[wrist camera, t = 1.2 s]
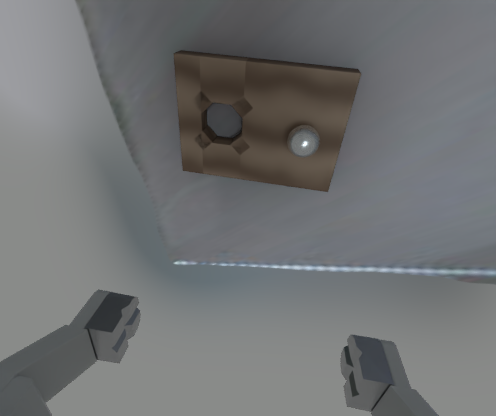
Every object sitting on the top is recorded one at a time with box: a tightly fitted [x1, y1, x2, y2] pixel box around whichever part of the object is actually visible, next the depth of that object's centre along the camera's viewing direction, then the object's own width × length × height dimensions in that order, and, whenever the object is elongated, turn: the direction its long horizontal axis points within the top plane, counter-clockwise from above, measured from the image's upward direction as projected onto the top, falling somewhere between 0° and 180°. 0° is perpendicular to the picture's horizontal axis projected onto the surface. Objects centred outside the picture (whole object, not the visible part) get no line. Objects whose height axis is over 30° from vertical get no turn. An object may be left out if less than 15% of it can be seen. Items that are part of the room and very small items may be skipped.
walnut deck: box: [174, 51, 361, 192], centre depth 39 cm, size 16×22×2 cm
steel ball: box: [287, 125, 320, 158], centre depth 36 cm, size 4×4×4 cm
